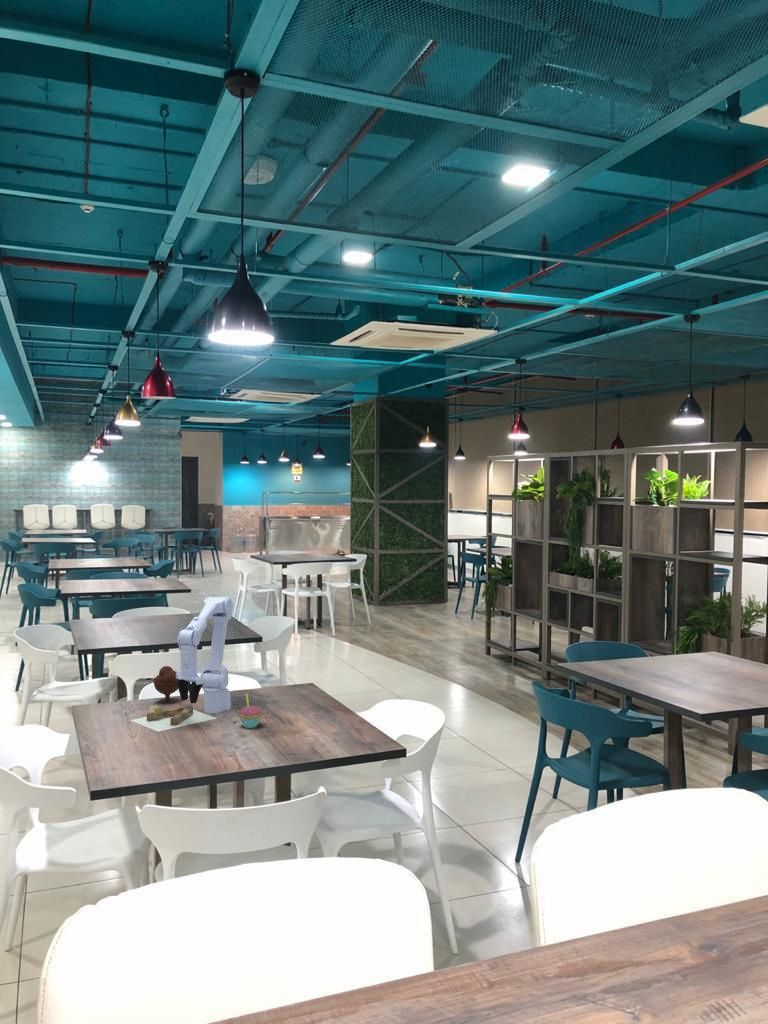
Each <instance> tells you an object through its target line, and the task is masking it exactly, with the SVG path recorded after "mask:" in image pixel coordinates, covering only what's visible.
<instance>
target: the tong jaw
mask: <svg viewBox="0 0 768 1024" xmlns="http://www.w3.org/2000/svg"><path fill="white" fill-rule="evenodd" d="M191 715H192V709H191V708H187V709H185V710H183V711H182V712H180V713H179V714H177V715H175V716H174V717H172V718H170V725H177V724H178V723H180V722H182V721H183V720H185V719H186V718H188V717H189V716H191Z"/></svg>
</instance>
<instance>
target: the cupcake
mask: <svg viewBox="0 0 768 1024" xmlns="http://www.w3.org/2000/svg"><path fill="white" fill-rule="evenodd" d="M245 693H246V694H245V699H246V706H244V707H242V708H241V709H240V710H239V711H238V713H237V714H238V718H240V720H241V722H242V724H243V725H242V726H243V727H244V728H245V729H253V728H257V727H258V724H259V720H260V719H261V718H262V717H263V715H264V712H263V710H262V709H261V707H258V706H254V705H250V703H249V695H248V693H247V692H245Z"/></svg>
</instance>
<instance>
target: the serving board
mask: <svg viewBox="0 0 768 1024" xmlns="http://www.w3.org/2000/svg"><path fill="white" fill-rule="evenodd" d="M170 718H172V717H169V718H165V719H160V720H155V721H150V722H149V721H147V716H144V717H138V718H135V719H134V718H133V719H130V721H131V722H133V723H136V724H138V725H141V726H143V727H145V728H147V729H150V730H152V731H155V732H163V731H167V730H171V729H175V728H181V727H186V726H190V725H194V724H199V723H204V722H207V721H212V720H215V719H218V718H217V717H215V716H212V715H209V714H207V713H205V712H204V713H203V712H201V711H199V710H195V709H193V714H192V715H191V716H189V717H188V718H186V719H185V720H183V721H182V722H180V723H178V724H177V725H170Z"/></svg>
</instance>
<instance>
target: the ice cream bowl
mask: <svg viewBox="0 0 768 1024" xmlns="http://www.w3.org/2000/svg"><path fill="white" fill-rule="evenodd" d="M176 673H178V672H177V670H174V669H173V668H172V667H171V666H169V665H165V666H163V667H161V668H160V669H159V671H158V675H157V676H155V677H154V680H153V686H154V689H155V690H156V691H157V692H158V693H160V694H161V695H164V697H165V700H163V701H162V703H163V704H171V703H173V700H171V698H170V697H171V695H172V694H174V693H175V692H177V691H179V689H178V687H177V685H176V683H175V681H177V680H179V679H177V678H176Z"/></svg>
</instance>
